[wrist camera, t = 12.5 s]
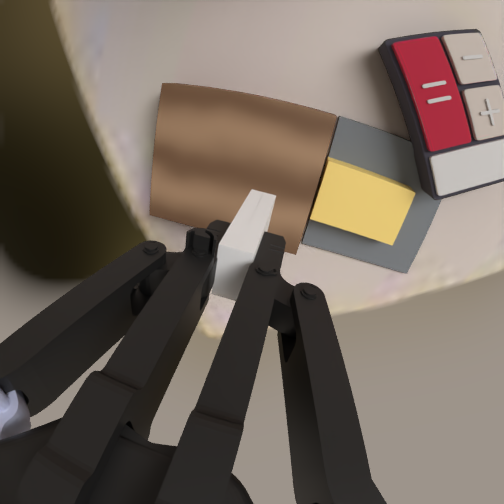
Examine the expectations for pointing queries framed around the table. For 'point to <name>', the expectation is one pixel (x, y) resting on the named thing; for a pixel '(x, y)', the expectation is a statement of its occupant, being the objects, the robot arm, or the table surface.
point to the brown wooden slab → (236, 157)
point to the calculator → (449, 108)
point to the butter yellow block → (361, 201)
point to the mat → (391, 166)
